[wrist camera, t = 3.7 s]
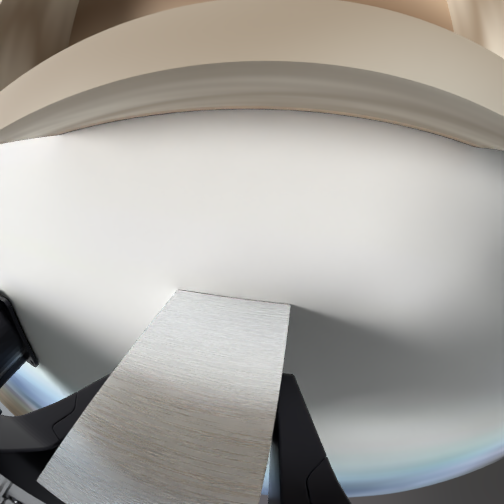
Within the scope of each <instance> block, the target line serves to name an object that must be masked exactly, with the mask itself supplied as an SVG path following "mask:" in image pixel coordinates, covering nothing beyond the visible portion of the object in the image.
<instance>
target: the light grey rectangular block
mask: <svg viewBox="0 0 504 504" xmlns="http://www.w3.org/2000/svg"><path fill="white" fill-rule="evenodd" d="M290 306H291V305H288V304H279V303H270V302H262V301H253V300H245V299H238V298H230V297H223V296H216V295H209V294H202V293H195V292H189V291H182V290H177V291H176V292H175V293H174V295H173V296H172V297H171V298H170V300H169V301H168V302H167V303H166V305H165V306H164V307H163V308H162V310H161V311H160V312H159V313H158V314H157V316H156V317H155V318H154V319H153V321H152V322H151V323H150V325H149V326H148V327H147V328H146V330H145V331H144V332H143V333H142V335H141V336H140V337H139V338H138V340H137V341H136V342H135V344H134V345H133V346H132V347H131V349H130V350H129V351H128V353H127V354H126V355H125V357H124V358H123V359H122V360H121V362H120V363H119V364H118V366H117V367H116V368H115V370H114V371H113V372H112V374H111V375H110V376H109V378H108V379H107V380H106V382H105V383H104V384H103V386H102V387H101V388H100V390H99V391H98V392H97V394H96V395H95V396H94V398H93V399H92V401H91V402H90V403H89V405H88V406H87V407H86V409H85V410H84V412H83V413H82V414H81V416H80V417H79V419H78V420H77V421H76V423H75V424H74V426H73V427H72V429H71V430H70V431H69V433H68V434H67V436H66V437H65V439H64V440H63V442H62V443H61V444H60V446H59V447H58V449H57V450H56V452H55V453H54V455H53V456H52V458H51V459H50V461H49V462H48V464H47V465H46V467H45V468H44V470H43V471H42V473H41V474H40V476H39V478H38V479H37V482H38V483H40V484H41V485H42V486H43V487H45V488H46V489H47V490H48V491H50V492H51V493H52V494H53V495H55V496H56V497H57V498H59V499H60V500H62V501H63V502H64V503H66V504H259V499H260V495H261V490H262V485H263V481H264V476H265V471H266V466H267V460H268V455H269V450H270V444H271V439H272V433H273V427H274V422H275V416H276V409H277V403H278V397H279V390H280V384H281V377H282V370H283V363H284V355H285V348H286V340H287V332H288V323H289V315H290Z"/></svg>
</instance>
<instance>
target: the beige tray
mask: <svg viewBox="0 0 504 504" xmlns="http://www.w3.org/2000/svg"><path fill="white" fill-rule="evenodd" d="M217 109H279V110H297V111H310V112H321V113H330V114H338V115H346V116H353V117H360V118H366V119H372V120H377V121H382V122H387V123H392V124H397V125H402V126H406V127H410V128H414V129H418V130H422V131H426V132H430V133H433V134H437V135H440V136H444V137H447V138H450V139H453V140H456V141H459V142H462V143H465V144H468V145H471V146H474V147H481V148H489V149H496V150H503V151H504V0H0V144H3V143H8V142H14V141H20V140H26V139H32V138H39V137H47V136H55V135H60V134H63V133H67V132H70V131H74V130H78V129H82V128H86V127H90V126H95V125H99V124H104V123H109V122H114V121H119V120H124V119H130V118H136V117H143V116H150V115H157V114H166V113H175V112H186V111H199V110H217Z"/></svg>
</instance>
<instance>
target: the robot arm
mask: <svg viewBox="0 0 504 504" xmlns="http://www.w3.org/2000/svg"><path fill="white" fill-rule="evenodd" d="M26 361H27V362H28V363H30V364H31V365H32V366H34V367H37V366H38V365H39V363H38V361H37V359H36V357H35V356H34V354H33V352H32V350H31V348H30V346H29V344H28V342H27V340H26V338H25V336H24V334H23V331H22V329H21V327H20V325H19V322H18V320H17V318H16V315H15V313H14V311H13V308H12V306H11V304H10V302H9V301H8V300H7V299H6V298H4V297H2V296H1V295H0V388H1V387H2V386H3V385H4V384H5V383H6V382H7V381H8V380H9V378H10V377H11V376H12V375H13V374H14V373H15V372H16V371H17V370H18V369H19V368H20V367H21V366H22V365H23V364H24V363H25V362H26ZM111 374H112V373H110V374H109V375H107V376H105V377H103V378H101V379H100V380H98V381H96V382H94V383H92V384H91V385H89V386H87V387H85V388H83V389H81V390H79V391H78V393H77V392H76V393H74V394H72V395H70V396H68V397H66V398H64V399H62V400H60V401H58V402H56V403H53V404H51V405H49V406H46V407H43V408H41V409H38V410H36V411H33V412H30V413H27V414H25V415H21V416H14V417H12V416H4V415H1V413H2V411H1V409H0V504H66V503H64V502H63V501H62V500H60V499H59V498H57V497H56V496H55V495H53V494H52V493H51V492H50V491H48V490H47V489H46V488H45V487H43V486H42V485H41V484H40V483H38V482H37V479H38V478H39V476H40V474H41V473H42V471H43V470H44V468H45V467H46V465H47V464H48V462H49V461H50V459H51V458H52V456H53V455H54V453H55V452H56V450H57V449H58V447H59V446H60V444H61V443H62V442H63V440H64V439H65V437H66V436H67V434H68V433H69V431H70V430H71V429H72V427H73V426H74V424H75V423H76V421H77V420H78V419H79V417H80V416H81V414H82V413H83V412H84V410H85V409H86V407H87V406H88V405H89V403H90V402H91V401H92V399H93V398H94V396H95V395H96V394H97V392H98V391H99V390H100V388H101V387H102V386H103V384H104V383H105V382H106V380H107V379H108V378H109V376H110V375H111ZM268 504H351V502H350V500H349V499H348V497H347V496H346V494H345V492H344V491H343V489H342V487H341V485H340V484H339V482H338V480H337V478H336V476H335V474H334V472H333V469H332V467H331V465H330V462H329V460H328V458H327V457H326V453H325V451H324V448H323V446H322V443H321V441H320V438H319V436H318V433H317V431H316V429H315V426H314V424H313V421H312V419H311V416H310V414H309V411H308V409H307V406H306V404H305V401H304V399H303V396H302V394H301V391H300V389H299V387H298V384H297V382H296V379H295V377H294V375H293V374H285V373H282V377H281V384H280V390H279V397H278V403H277V409H276V416H275V422H274V427H273V433H272V439H271V449H270V472H269V492H268Z"/></svg>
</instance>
